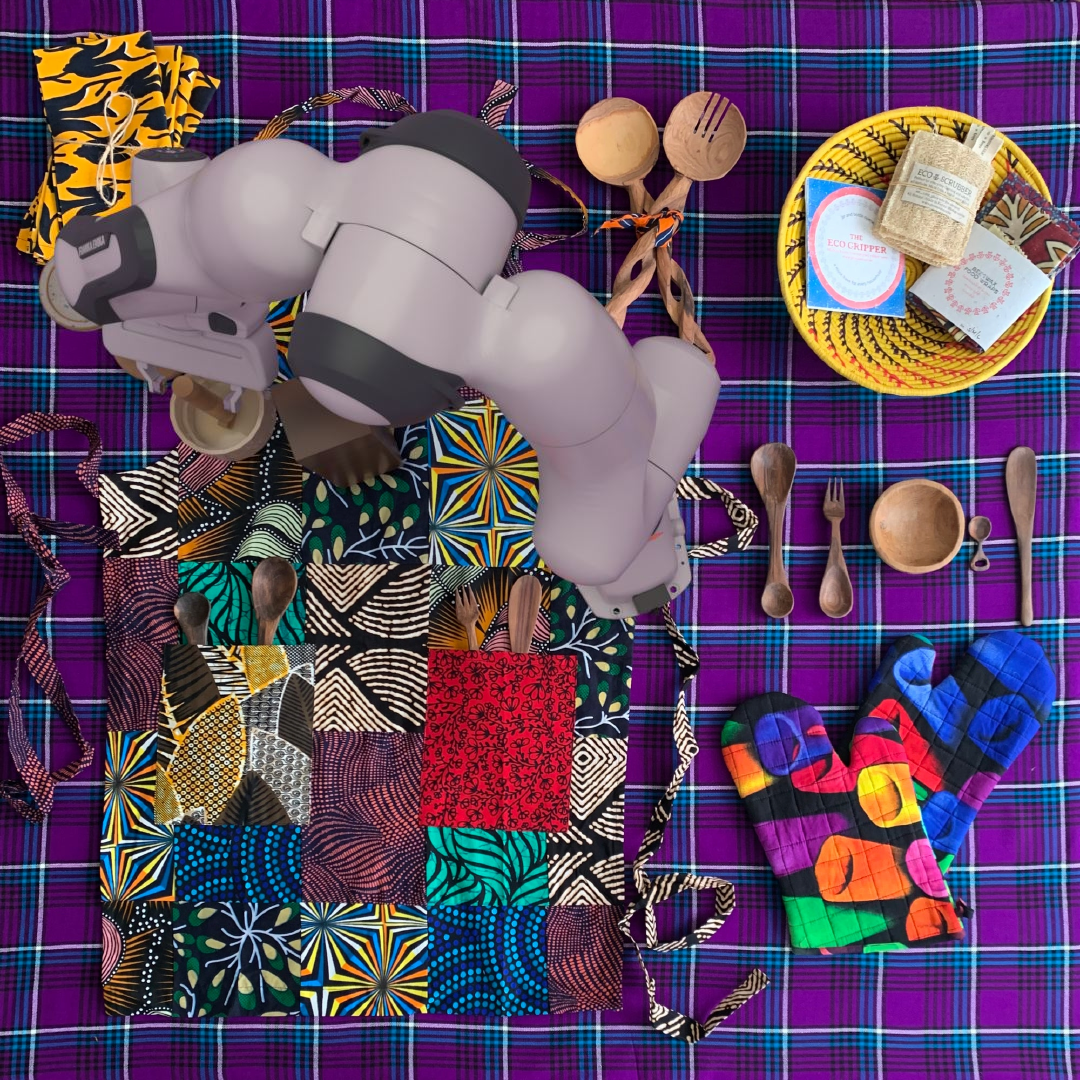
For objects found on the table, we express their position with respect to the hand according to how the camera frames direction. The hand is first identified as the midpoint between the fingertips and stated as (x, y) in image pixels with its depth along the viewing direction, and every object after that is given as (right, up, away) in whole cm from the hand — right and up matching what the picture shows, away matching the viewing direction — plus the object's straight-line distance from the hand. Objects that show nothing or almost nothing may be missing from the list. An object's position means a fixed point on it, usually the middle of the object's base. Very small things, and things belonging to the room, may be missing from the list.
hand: (195, 400), depth 111 cm
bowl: (0, 0, +13) cm, 13 cm away
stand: (+18, -4, +12) cm, 22 cm away
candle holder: (-10, +10, +14) cm, 20 cm away
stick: (0, 0, +12) cm, 12 cm away
